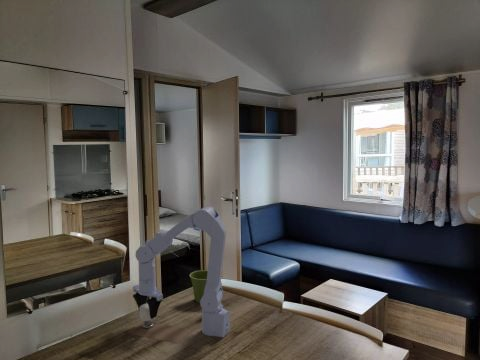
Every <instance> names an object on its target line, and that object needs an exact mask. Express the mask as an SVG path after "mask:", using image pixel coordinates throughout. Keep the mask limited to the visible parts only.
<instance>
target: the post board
mask: <svg viewBox="0 0 480 360" xmlns="http://www.w3.org/2000/svg"><path fill="white" fill-rule="evenodd" d="M191 331H192V329H190V328H183V327H179V326H175V325H168V324H164V323H159V322H154V321H153V320H150V321H141V322H140V323H139V324H137V325H136V326H134V327H133V328H132V329H130V330H129V331H127V332H126V334H129V335H134V336H139V337H143V338H147V339H148V338H149V339H153V340H157V341H158V340H159V341H163V342H168V343H172V344H176V345H177V344H178V343H180V342H181V340H183V339H184V338H185V337H186V336H188V334H190V333H191Z"/></svg>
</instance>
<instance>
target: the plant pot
mask: <svg viewBox="0 0 480 360" xmlns="http://www.w3.org/2000/svg"><path fill="white" fill-rule="evenodd" d="M207 272H208V269H207V270H195V271H193V272H190V274H189V277H190V281H191V284H192V289H193V290H192V291H193V296H194V301H195V302H196V303H198V304H200V300H201V298H202V297H203V295H204V289H205V286H206V282H207Z"/></svg>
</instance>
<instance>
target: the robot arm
mask: <svg viewBox="0 0 480 360" xmlns="http://www.w3.org/2000/svg"><path fill="white" fill-rule="evenodd" d="M194 228H198V229H200V230H201V231H203V232H205V233H206V234H207V235H208V236H209V237H210V244H209V254H208V255H209V256H208V264H207V271H208V272H207V282H206V286H205V289H204V295H203V297H202V298H201V300H200V303H199V305H200V308H201V333H202V334H204V336H208V337H218V338H225V337H226V335H228V333H229V332H230V331H231V312H230V311H229V310H227V309H225V308H224V307H223V304H222V300H223V298H224V289H223V283H222V273H223V263H224V255H225V254H224V253H225V246H226V236H227V230H226V227H225V226H224V224H223V221H222V219H221V216H220V212H219V211H217V210H216V209H215V208H214V207H213V206H210V205H207V206H203V207H202V208H200V209H199V210H197V211H194V212H193V213H191V214H189V215H188V216H186V217H184V218H183V219H182V220H181V221H179V222H178V223H176V224H175V225H174V226H173V227H171V228H170V229H169V230H168V231H164V230H162V231H157V232H156V233H155V236H154V237H152V238H151V239H150V240H149V239H147V240H146V241H144V242H145V243H144V244H143V245H142V246H138V248H137V249H136V251H135V258H136V260H137V261H138V284H136V285H133V286H132V292H134V294H132V298H133V299H134V301H135V304H136V305H137V308H138V311H139V313H140V310H139V309H140V308H139V307H140V306H141V305H143V304H147V303H148V306H149V311H150V318H151V319H153V318H155V317H156V318H157V316H158V311H159V307H160V305H161V303H162V301H163V299H164V295H163V293H161V292H160V291H159V290H158V289H159V288H158V286H156V285H157V284H156V282H157V281H156V257H157V255H159V254H160V253H162V252H163V251H165V250H166V249H168V247H170V246H171V245H172V244H173V239H175V238H176V237H177V236H178V235H181V233H183V232H184V231H186V230H188V229H194ZM148 297H150V298H149V299H148ZM156 318H155V319H156ZM153 320H154V319H153Z"/></svg>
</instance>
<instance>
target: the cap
mask: <svg viewBox="0 0 480 360" xmlns="http://www.w3.org/2000/svg"><path fill="white" fill-rule="evenodd" d="M139 308H140V309H138V311H139V310H140V312H139V320H140V321H141V322H143V321H150V320H152V321H153V320H155V319H156V318H157V316H156V317H155V318H153V319H151V318H150V311H149V306H148V303H147V302H146V304H143V305H141V306H140V307H139Z"/></svg>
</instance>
